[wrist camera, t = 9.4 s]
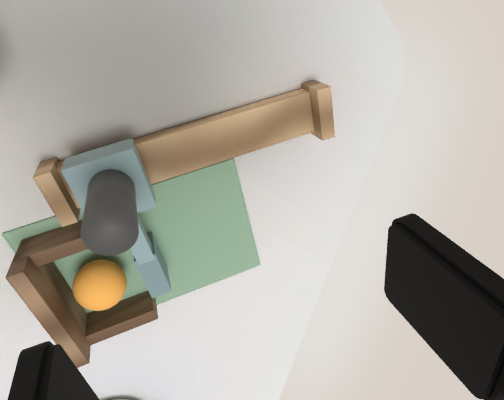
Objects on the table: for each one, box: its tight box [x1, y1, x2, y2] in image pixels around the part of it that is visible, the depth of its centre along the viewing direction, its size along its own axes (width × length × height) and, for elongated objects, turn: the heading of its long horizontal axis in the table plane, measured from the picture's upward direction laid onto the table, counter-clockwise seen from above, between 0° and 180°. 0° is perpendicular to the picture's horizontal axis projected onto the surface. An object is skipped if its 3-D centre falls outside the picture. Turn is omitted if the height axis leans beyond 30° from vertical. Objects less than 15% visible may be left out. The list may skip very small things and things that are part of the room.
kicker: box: [61, 138, 172, 298], centre depth 28 cm, size 14×5×10 cm, turn 12°
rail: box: [33, 80, 335, 227], centre depth 30 cm, size 4×23×3 cm, turn 102°
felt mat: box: [2, 158, 260, 313], centre depth 34 cm, size 13×20×1 cm, turn 102°
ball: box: [72, 259, 127, 311], centre depth 32 cm, size 4×4×4 cm
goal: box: [6, 220, 158, 368], centre depth 31 cm, size 11×8×5 cm
